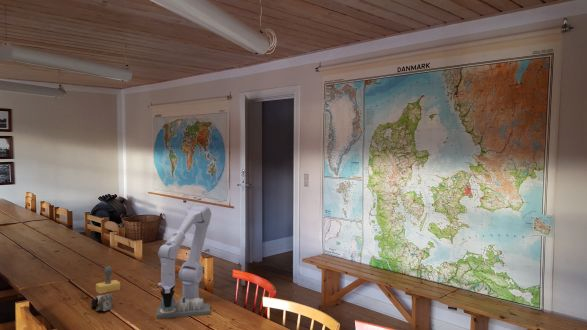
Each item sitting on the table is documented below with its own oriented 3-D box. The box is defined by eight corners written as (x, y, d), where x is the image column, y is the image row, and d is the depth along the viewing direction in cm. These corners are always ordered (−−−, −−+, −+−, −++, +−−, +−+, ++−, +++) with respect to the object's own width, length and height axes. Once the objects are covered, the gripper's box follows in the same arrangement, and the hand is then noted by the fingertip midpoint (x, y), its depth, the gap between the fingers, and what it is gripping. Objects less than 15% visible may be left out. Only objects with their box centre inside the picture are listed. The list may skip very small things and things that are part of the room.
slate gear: (161, 305, 184) (161, 297, 184) (175, 304, 185) (175, 296, 185) (160, 310, 178) (160, 302, 178) (174, 309, 180) (174, 301, 180)
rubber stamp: (99, 294, 204) (99, 269, 203) (95, 291, 208) (95, 266, 208) (120, 289, 211) (120, 265, 210) (116, 286, 215) (116, 263, 214)
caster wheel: (98, 309, 192) (119, 307, 191) (83, 313, 181) (104, 311, 180) (98, 293, 194) (119, 291, 192) (82, 296, 183) (104, 294, 181)
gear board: (157, 310, 185) (157, 295, 185) (209, 306, 191) (209, 291, 191) (156, 318, 177) (156, 302, 176) (210, 314, 182) (210, 298, 182)
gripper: (159, 268, 187) (159, 298, 188) (157, 278, 173) (157, 311, 174) (175, 267, 189) (175, 297, 190) (175, 277, 175) (175, 310, 176)
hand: (167, 304), depth 182 cm, fingers closed on slate gear, 6 cm apart
